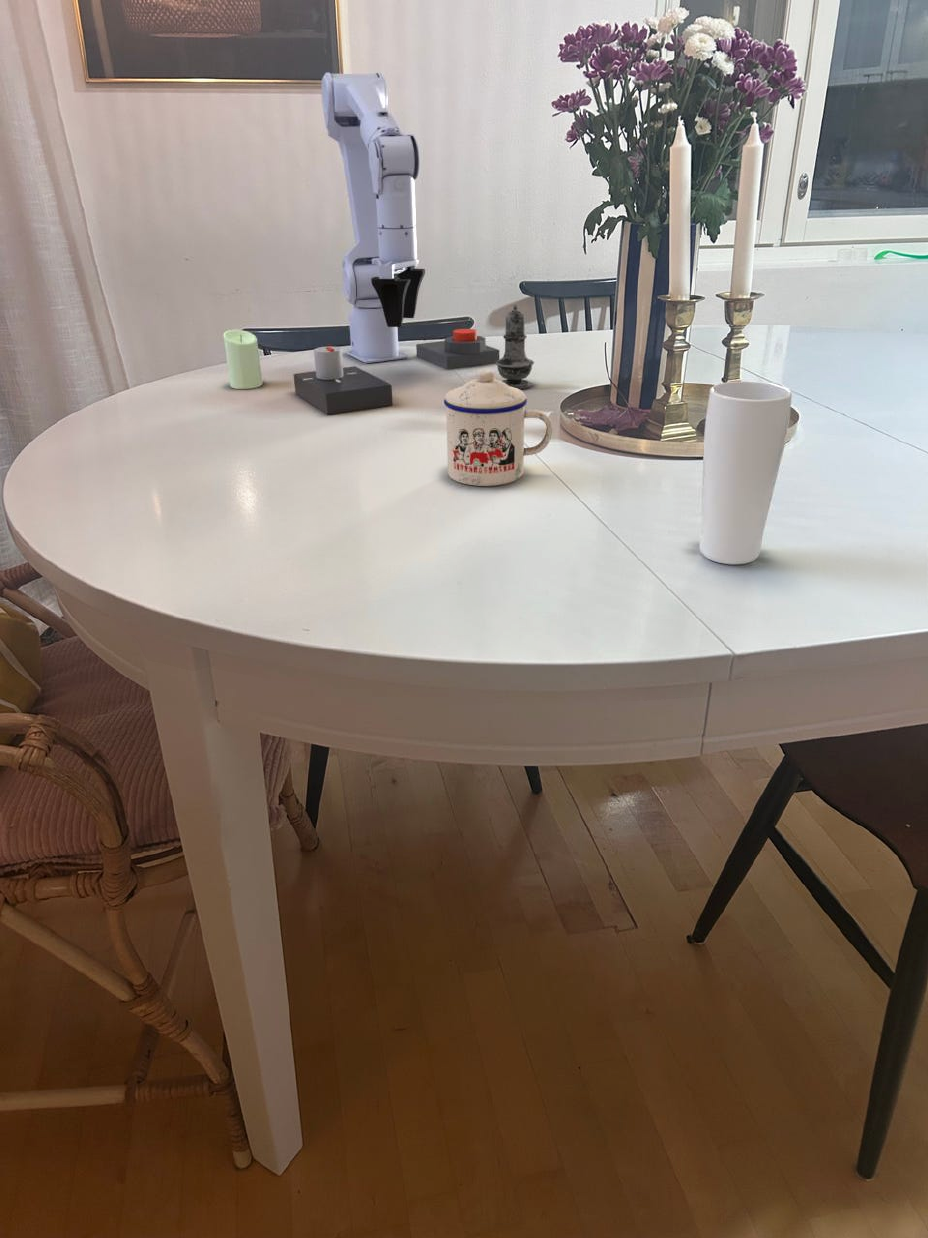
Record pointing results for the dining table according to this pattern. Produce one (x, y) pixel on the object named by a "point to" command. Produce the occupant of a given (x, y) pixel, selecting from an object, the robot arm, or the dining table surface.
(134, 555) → the dining table surface
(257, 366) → the candle
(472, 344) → the grey button base
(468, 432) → the teacup with lid
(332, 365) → the knob
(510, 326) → the salt shaker
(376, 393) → the panel
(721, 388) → the drinking glass
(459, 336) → the power button
